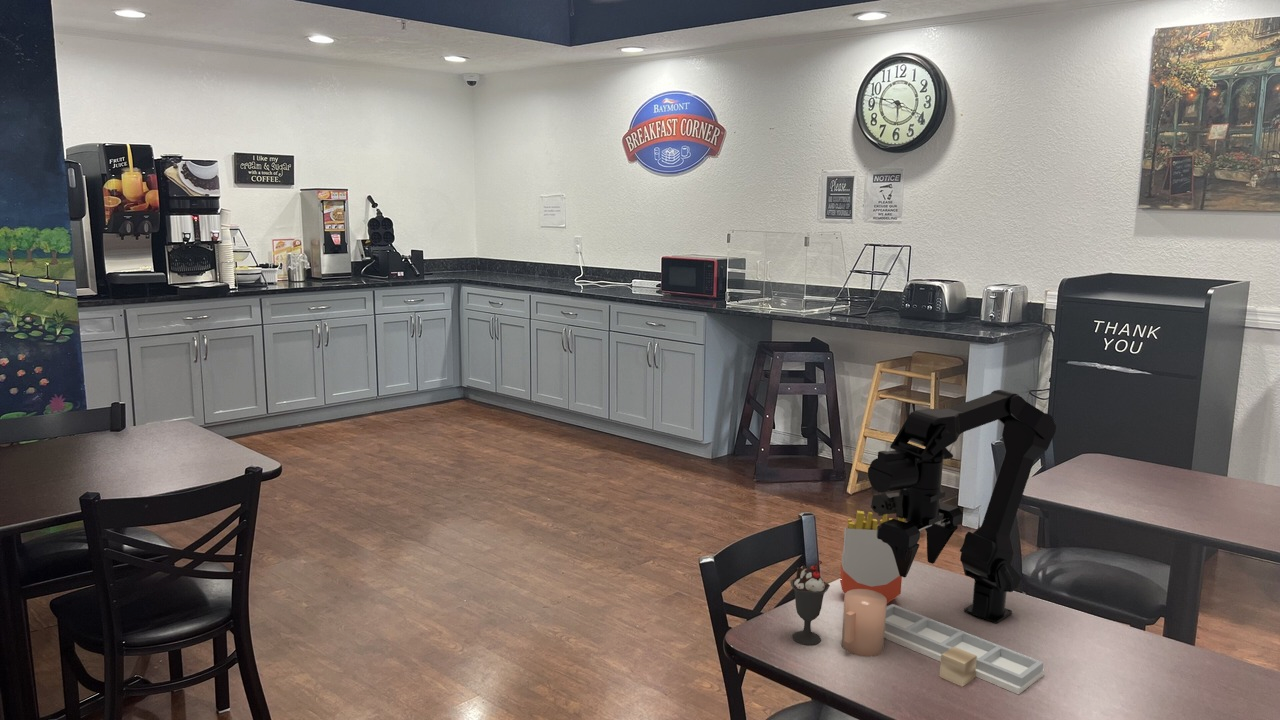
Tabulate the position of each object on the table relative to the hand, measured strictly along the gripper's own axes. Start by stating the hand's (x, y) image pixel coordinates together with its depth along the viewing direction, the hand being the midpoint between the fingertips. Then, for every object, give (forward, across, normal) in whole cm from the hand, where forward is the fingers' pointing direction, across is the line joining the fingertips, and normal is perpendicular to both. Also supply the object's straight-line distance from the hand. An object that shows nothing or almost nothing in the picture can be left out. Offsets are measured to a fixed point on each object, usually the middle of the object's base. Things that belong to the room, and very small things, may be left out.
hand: (917, 569), depth 160 cm
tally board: (+12, +1, +8) cm, 14 cm away
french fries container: (+12, -6, -13) cm, 19 cm away
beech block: (+12, +8, +13) cm, 19 cm away
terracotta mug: (+12, +11, -3) cm, 17 cm away
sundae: (+12, +16, -11) cm, 23 cm away
